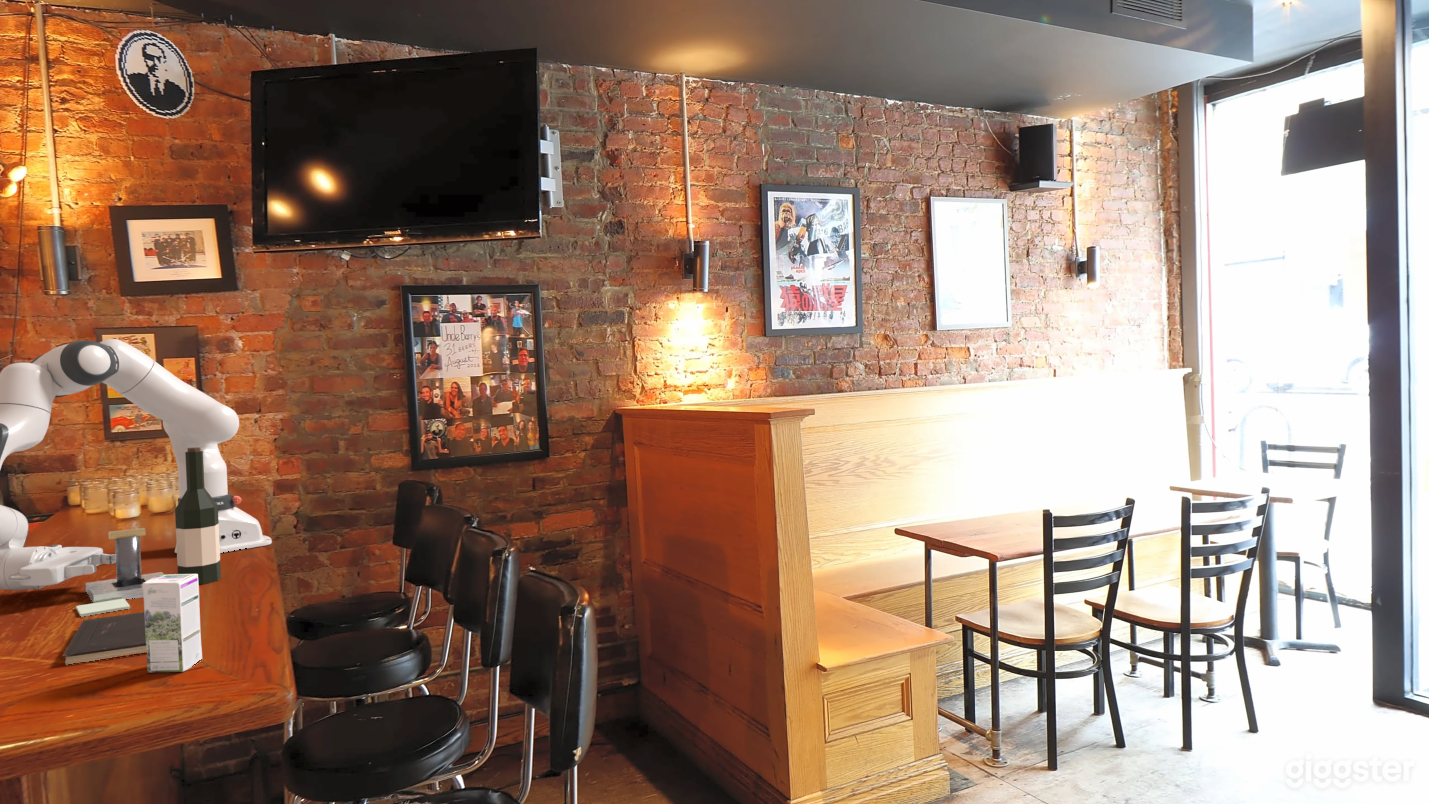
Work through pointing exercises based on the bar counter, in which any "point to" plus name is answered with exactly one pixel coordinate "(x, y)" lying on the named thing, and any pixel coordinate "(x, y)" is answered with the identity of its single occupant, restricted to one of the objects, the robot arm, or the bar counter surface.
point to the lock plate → (116, 589)
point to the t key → (128, 556)
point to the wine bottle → (197, 525)
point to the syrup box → (172, 622)
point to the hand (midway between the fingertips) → (106, 563)
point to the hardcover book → (107, 638)
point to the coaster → (102, 607)
